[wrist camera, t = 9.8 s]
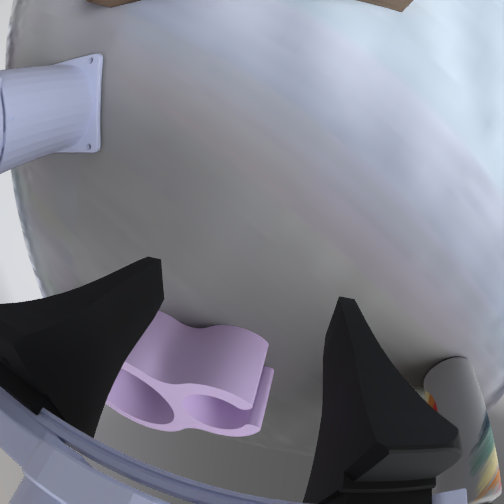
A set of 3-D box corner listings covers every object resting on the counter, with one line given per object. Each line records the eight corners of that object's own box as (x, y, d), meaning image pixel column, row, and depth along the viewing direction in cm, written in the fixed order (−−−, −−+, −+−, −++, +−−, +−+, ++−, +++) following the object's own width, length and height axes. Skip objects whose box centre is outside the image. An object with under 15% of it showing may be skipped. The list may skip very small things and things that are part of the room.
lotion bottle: (423, 395, 25) (432, 565, 8) (420, 366, 23) (436, 567, 6) (469, 380, 23) (495, 544, 6) (472, 348, 21) (512, 539, 4)
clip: (260, 304, 24) (240, 370, 18) (279, 393, 29) (267, 448, 23) (86, 300, 29) (50, 339, 23) (129, 375, 35) (106, 413, 29)
